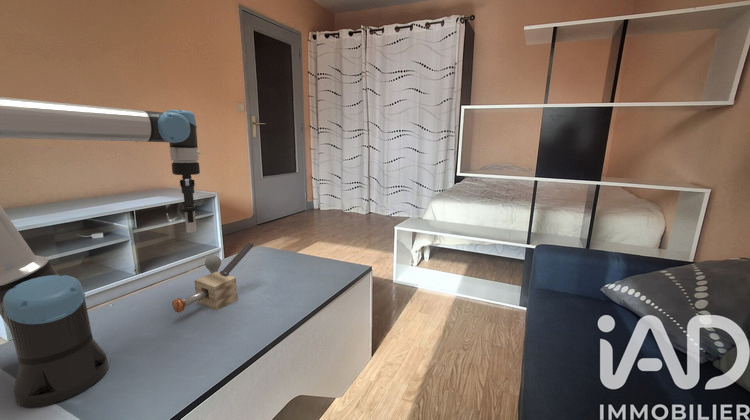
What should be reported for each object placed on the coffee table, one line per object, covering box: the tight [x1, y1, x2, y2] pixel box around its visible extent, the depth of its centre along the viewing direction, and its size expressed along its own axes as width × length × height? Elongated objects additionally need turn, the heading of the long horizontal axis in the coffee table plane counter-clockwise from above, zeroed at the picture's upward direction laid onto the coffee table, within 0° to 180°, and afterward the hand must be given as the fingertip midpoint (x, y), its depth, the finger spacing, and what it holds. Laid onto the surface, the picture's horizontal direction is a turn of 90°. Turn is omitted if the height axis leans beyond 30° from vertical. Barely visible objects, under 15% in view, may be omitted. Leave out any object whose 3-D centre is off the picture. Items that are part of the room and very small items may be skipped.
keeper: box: [219, 242, 255, 276], centre depth 113 cm, size 15×3×1 cm
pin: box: [171, 289, 209, 314], centre depth 101 cm, size 13×4×4 cm, turn 152°
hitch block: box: [193, 271, 238, 311], centre depth 107 cm, size 8×10×8 cm
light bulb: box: [204, 255, 222, 274], centre depth 122 cm, size 6×6×10 cm
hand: (191, 227), depth 104 cm, fingers open, 13 cm apart
